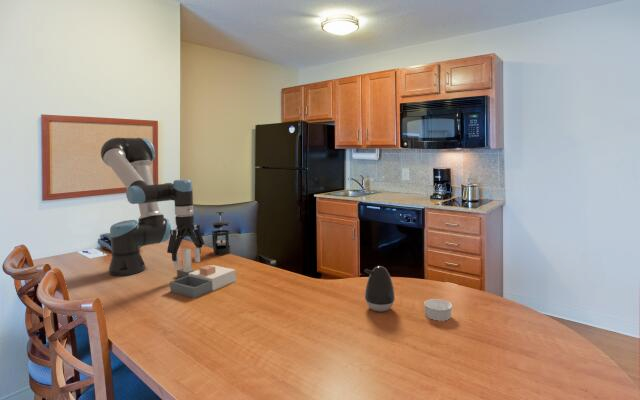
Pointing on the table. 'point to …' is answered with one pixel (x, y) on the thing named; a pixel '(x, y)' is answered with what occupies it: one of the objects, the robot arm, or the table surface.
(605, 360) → the table surface
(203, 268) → the tile
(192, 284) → the box
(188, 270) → the scraper
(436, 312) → the ramekin
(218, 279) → the plate
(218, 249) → the french press
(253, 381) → the table surface
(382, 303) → the pump dispenser
